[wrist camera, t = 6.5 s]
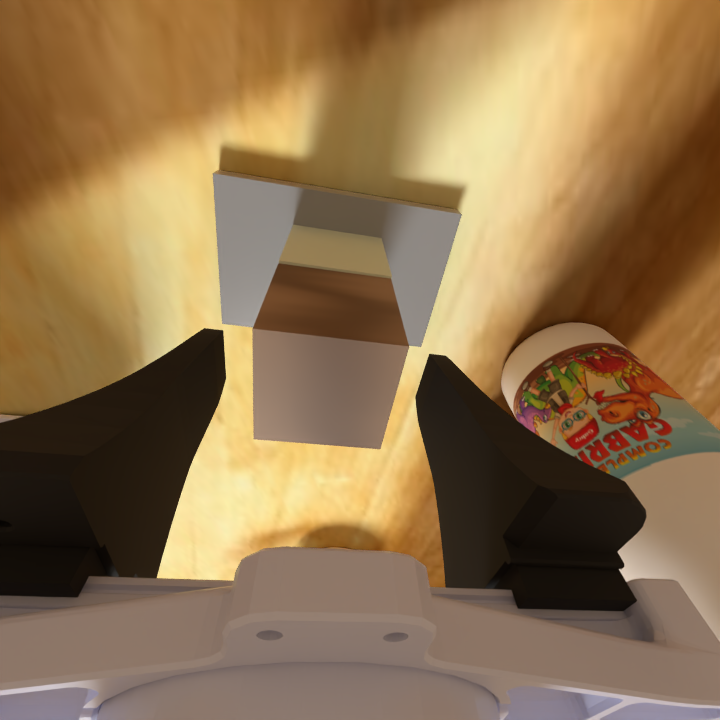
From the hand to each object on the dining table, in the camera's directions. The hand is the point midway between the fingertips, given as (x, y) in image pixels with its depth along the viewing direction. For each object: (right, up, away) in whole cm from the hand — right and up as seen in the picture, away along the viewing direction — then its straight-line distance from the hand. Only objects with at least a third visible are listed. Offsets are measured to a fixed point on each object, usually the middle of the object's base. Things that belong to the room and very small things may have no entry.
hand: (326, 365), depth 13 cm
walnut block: (0, +2, +3) cm, 3 cm away
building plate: (0, +5, +8) cm, 9 cm away
